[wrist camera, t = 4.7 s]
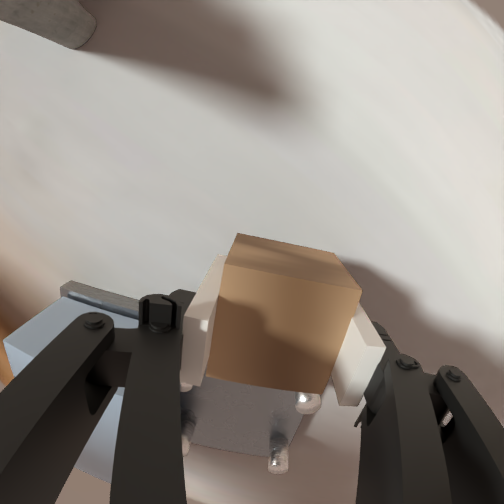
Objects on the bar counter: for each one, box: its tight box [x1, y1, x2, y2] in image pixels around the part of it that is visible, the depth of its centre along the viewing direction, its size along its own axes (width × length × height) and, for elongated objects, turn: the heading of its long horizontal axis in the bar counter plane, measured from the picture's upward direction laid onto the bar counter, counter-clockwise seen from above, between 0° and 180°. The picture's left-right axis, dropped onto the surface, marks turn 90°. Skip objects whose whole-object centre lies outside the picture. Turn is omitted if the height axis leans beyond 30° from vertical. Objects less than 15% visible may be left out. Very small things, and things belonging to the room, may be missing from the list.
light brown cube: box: [206, 233, 363, 394], centre depth 13 cm, size 5×5×5 cm
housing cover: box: [3, 296, 139, 484], centre depth 17 cm, size 10×12×7 cm
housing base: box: [60, 281, 321, 474], centre depth 20 cm, size 20×13×4 cm, turn 80°
